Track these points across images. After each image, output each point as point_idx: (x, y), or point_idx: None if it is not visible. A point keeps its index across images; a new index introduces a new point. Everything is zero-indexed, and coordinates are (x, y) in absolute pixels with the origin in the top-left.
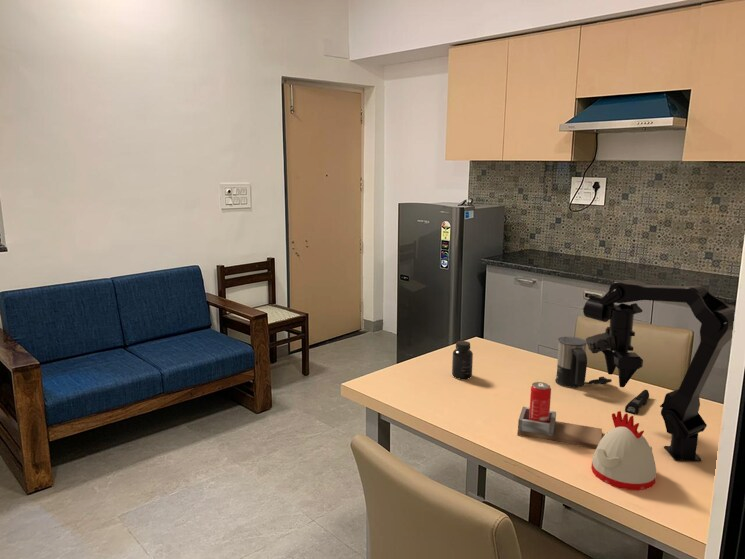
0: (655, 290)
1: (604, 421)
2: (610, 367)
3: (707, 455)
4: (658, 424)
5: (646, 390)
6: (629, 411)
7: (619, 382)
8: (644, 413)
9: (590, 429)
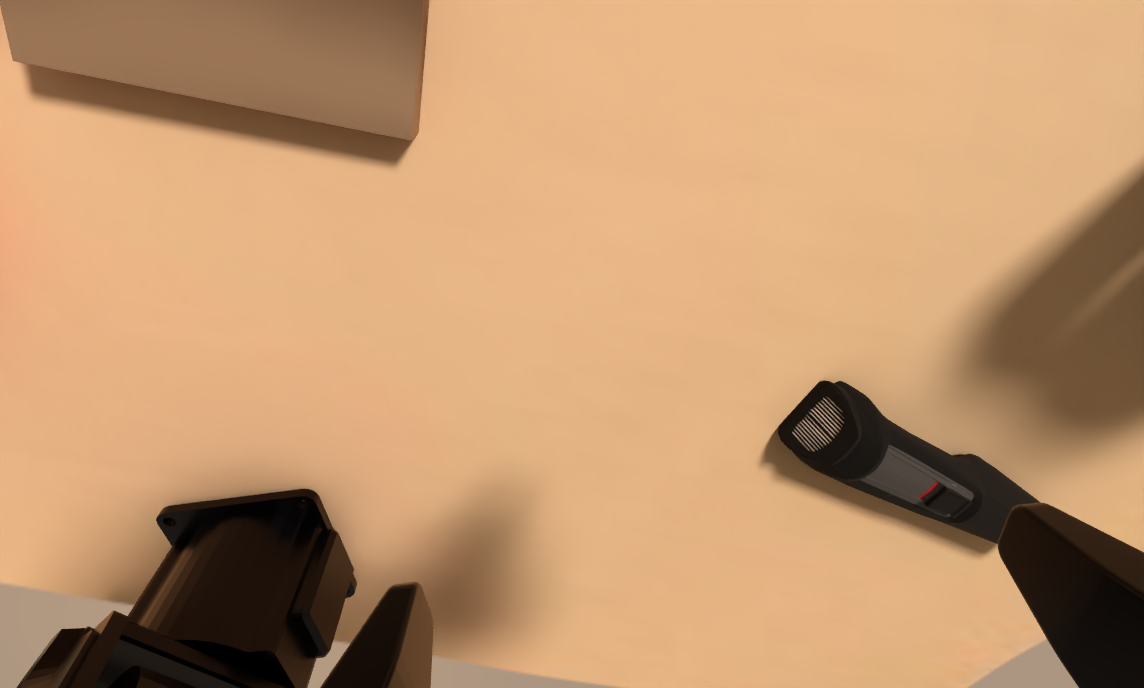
0: None
1: (652, 202)
2: (1133, 647)
3: None
4: (645, 515)
5: None
6: (812, 407)
7: (370, 656)
8: (797, 477)
9: (353, 13)
